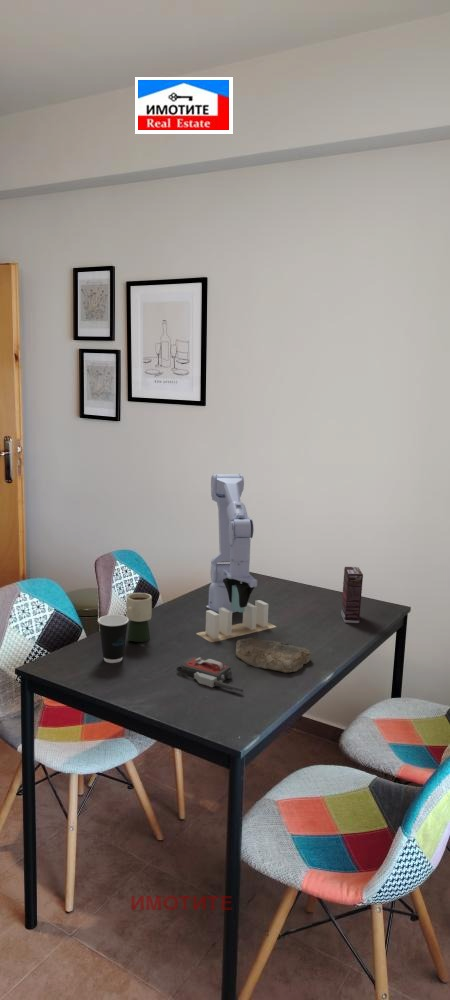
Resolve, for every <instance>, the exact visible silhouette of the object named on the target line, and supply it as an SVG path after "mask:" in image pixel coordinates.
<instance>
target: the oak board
mask: <svg viewBox="0 0 450 1000" xmlns="http://www.w3.org/2000/svg"><path fill="white" fill-rule="evenodd" d="M274 628H277V625H274V624H272V623H270V622H268V626H267V627H262V626H260V625H258V624H256V629H254V630H251V629H249V628H247V627H245V626H243V622H240V623H236V624H232V632H231V635H228V636H226V635H225V634H223V633H221V632H219V638H216V639H214V638H212V637H210V636H208V635H207V634H205V633H206V630H205V631H200V632H196V633H195V634H196V635H198V636H199V637H201V638H203V639H204V640H206V641H208V642H209V643H215V642H219V641H224V640H228V639H232V638H235V637H236V638H237V637H239V636H244V635H249V634H253V633H259V632H262V631H266V630H270V629H274Z"/></svg>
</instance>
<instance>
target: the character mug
mask: <svg viewBox="0 0 450 1000" xmlns="http://www.w3.org/2000/svg"><path fill="white" fill-rule="evenodd" d="M152 600H153V598H152V595H151V594H149V593H146V592H132V593H129V594H127V595H126V601H125V604H126V605H125V606H126V614H125V616H126V617H127V618H128V619H129V621H130V622H129V624H128V629H127V631H128V632H127V640H128V641H129V642H134V643H138V642H139V643H144V642H148V641H149V640H150V639H151V638H150V637H151V636H150V635H151V634H150V626H149V620H151V618H152V610H153V609H152V607H153V601H152Z"/></svg>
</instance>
